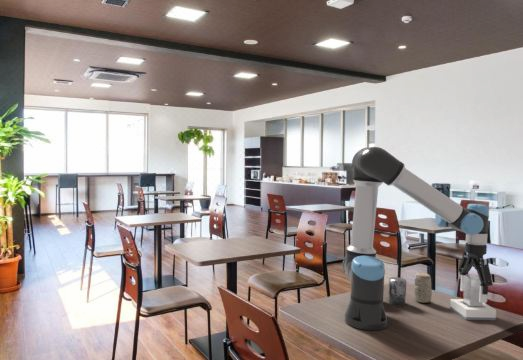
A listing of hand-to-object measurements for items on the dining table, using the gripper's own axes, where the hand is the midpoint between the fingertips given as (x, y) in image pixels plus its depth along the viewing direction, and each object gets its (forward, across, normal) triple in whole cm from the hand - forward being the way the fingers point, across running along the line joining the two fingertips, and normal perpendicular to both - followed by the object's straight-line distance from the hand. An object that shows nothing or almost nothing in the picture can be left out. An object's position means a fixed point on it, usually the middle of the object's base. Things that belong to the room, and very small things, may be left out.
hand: (473, 296), depth 165 cm
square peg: (+6, 0, 0) cm, 6 cm away
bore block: (+7, 0, 0) cm, 7 cm away
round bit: (+7, +12, +26) cm, 30 cm away
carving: (+7, +14, +14) cm, 21 cm away
